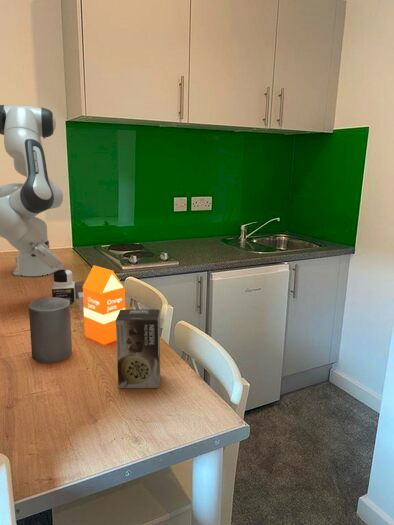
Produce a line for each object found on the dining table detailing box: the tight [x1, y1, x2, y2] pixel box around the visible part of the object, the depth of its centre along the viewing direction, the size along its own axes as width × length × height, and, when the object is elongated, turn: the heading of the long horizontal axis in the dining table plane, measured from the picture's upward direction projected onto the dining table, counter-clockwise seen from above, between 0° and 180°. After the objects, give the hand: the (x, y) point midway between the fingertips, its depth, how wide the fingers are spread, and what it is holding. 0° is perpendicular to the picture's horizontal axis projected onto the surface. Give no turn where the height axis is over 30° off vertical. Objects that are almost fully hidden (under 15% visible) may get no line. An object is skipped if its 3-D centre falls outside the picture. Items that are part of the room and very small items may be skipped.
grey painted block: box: [78, 292, 84, 312], centre depth 132 cm, size 5×5×5 cm
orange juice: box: [83, 265, 126, 346], centre depth 109 cm, size 8×9×20 cm
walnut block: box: [74, 280, 86, 300], centre depth 144 cm, size 5×5×5 cm
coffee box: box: [115, 308, 161, 389], centre depth 86 cm, size 9×6×16 cm
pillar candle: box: [28, 296, 73, 364], centre depth 98 cm, size 10×10×15 cm
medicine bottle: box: [51, 269, 77, 308], centre depth 134 cm, size 7×7×12 cm
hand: (62, 267), depth 132 cm, fingers closed
